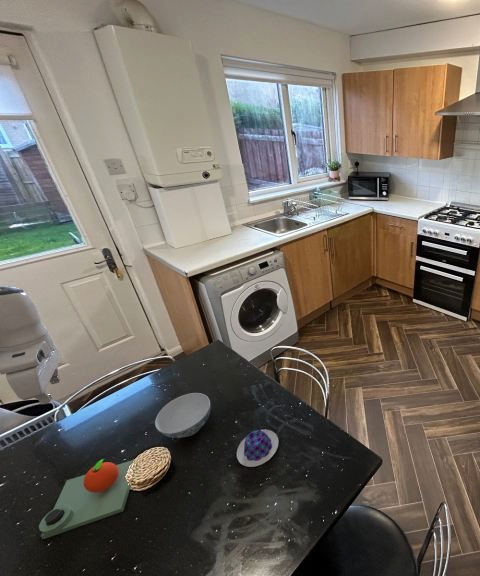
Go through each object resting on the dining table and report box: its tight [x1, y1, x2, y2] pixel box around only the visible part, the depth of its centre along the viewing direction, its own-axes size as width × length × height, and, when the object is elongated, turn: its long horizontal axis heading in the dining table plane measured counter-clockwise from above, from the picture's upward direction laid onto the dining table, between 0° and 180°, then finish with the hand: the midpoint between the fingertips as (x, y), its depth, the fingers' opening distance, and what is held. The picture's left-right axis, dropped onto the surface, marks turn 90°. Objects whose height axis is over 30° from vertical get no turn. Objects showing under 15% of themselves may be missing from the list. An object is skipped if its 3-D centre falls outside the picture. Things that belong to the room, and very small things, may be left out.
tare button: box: [45, 509, 64, 525], centre depth 75 cm, size 3×3×2 cm
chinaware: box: [154, 392, 211, 439], centre depth 99 cm, size 15×15×8 cm
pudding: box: [236, 429, 279, 468], centre depth 93 cm, size 12×12×5 cm
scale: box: [38, 459, 135, 540], centre depth 82 cm, size 16×14×3 cm
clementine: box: [84, 458, 119, 493], centre depth 83 cm, size 8×7×7 cm
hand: (51, 391), depth 83 cm, fingers open, 8 cm apart
